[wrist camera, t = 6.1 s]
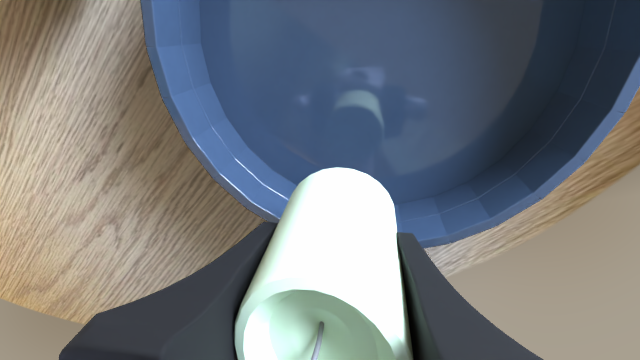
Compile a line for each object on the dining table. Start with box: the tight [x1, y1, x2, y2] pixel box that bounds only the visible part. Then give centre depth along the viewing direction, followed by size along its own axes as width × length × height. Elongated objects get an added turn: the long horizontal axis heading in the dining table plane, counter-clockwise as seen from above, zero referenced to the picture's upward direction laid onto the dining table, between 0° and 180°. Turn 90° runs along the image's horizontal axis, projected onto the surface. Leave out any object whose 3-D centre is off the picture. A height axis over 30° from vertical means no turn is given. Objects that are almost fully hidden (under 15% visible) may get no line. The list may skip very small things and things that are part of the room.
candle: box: [234, 168, 414, 360], centre depth 11 cm, size 5×5×8 cm
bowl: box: [140, 0, 640, 248], centre depth 16 cm, size 21×21×5 cm
